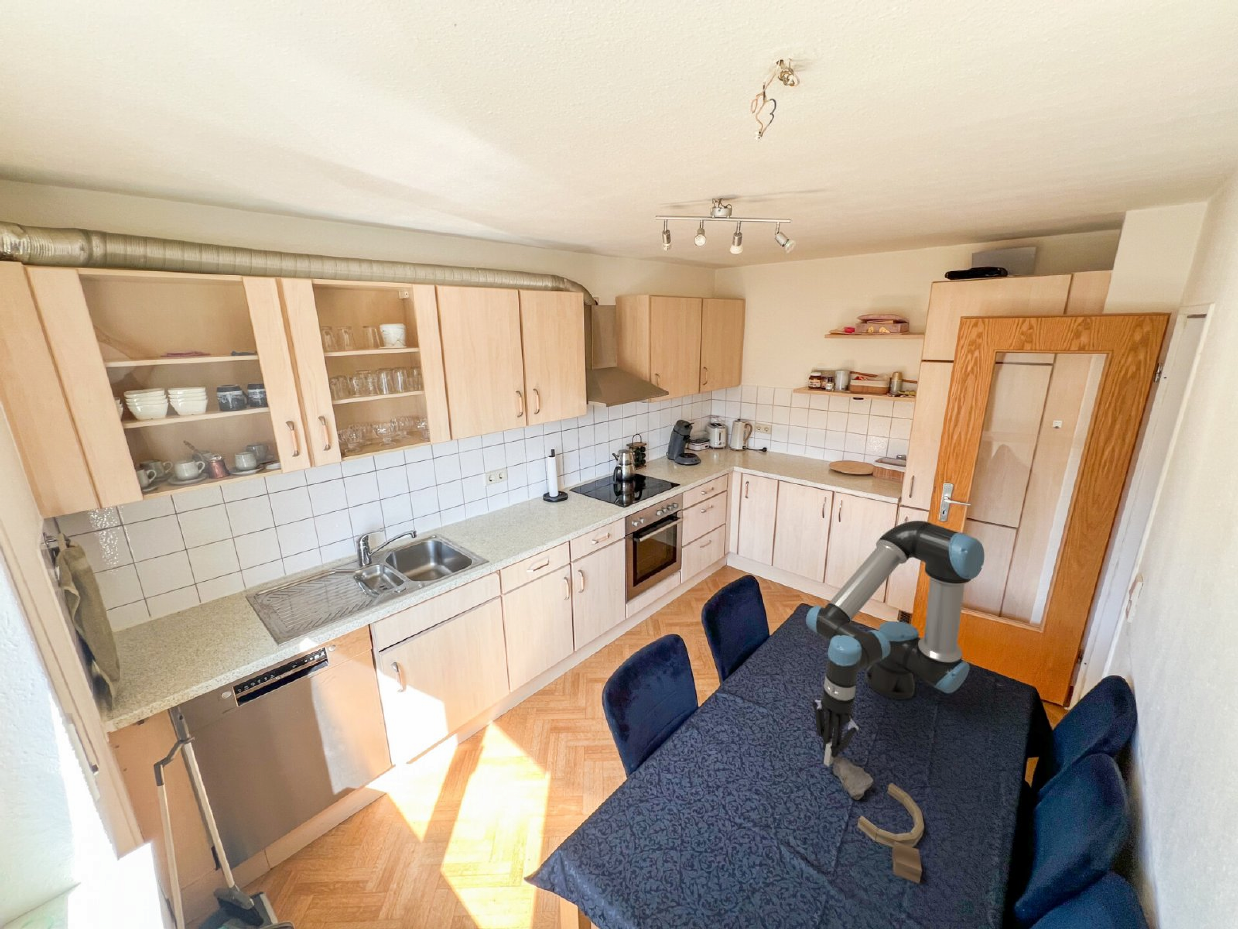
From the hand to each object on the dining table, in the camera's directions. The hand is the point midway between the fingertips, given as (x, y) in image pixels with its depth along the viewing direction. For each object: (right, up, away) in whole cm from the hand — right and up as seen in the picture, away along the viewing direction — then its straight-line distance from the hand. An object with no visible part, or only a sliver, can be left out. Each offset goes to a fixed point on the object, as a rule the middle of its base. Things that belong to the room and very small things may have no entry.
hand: (828, 762), depth 136 cm
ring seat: (+11, -7, -13) cm, 19 cm away
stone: (+5, -5, -3) cm, 7 cm away
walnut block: (+7, -10, -23) cm, 27 cm away
